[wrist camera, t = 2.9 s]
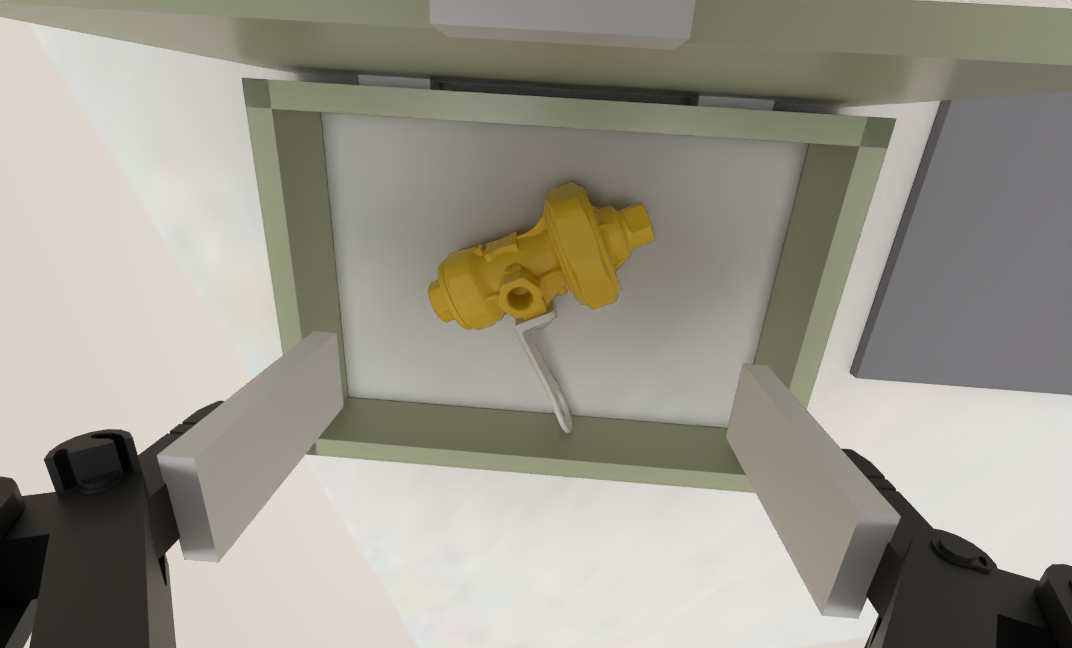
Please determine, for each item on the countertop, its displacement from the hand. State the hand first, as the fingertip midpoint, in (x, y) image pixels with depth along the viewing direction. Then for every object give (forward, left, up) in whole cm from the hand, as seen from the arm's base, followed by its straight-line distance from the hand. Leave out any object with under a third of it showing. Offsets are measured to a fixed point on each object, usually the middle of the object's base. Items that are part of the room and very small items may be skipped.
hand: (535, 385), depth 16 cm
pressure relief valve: (+1, +1, -10) cm, 10 cm away
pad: (-5, +22, -10) cm, 25 cm away
